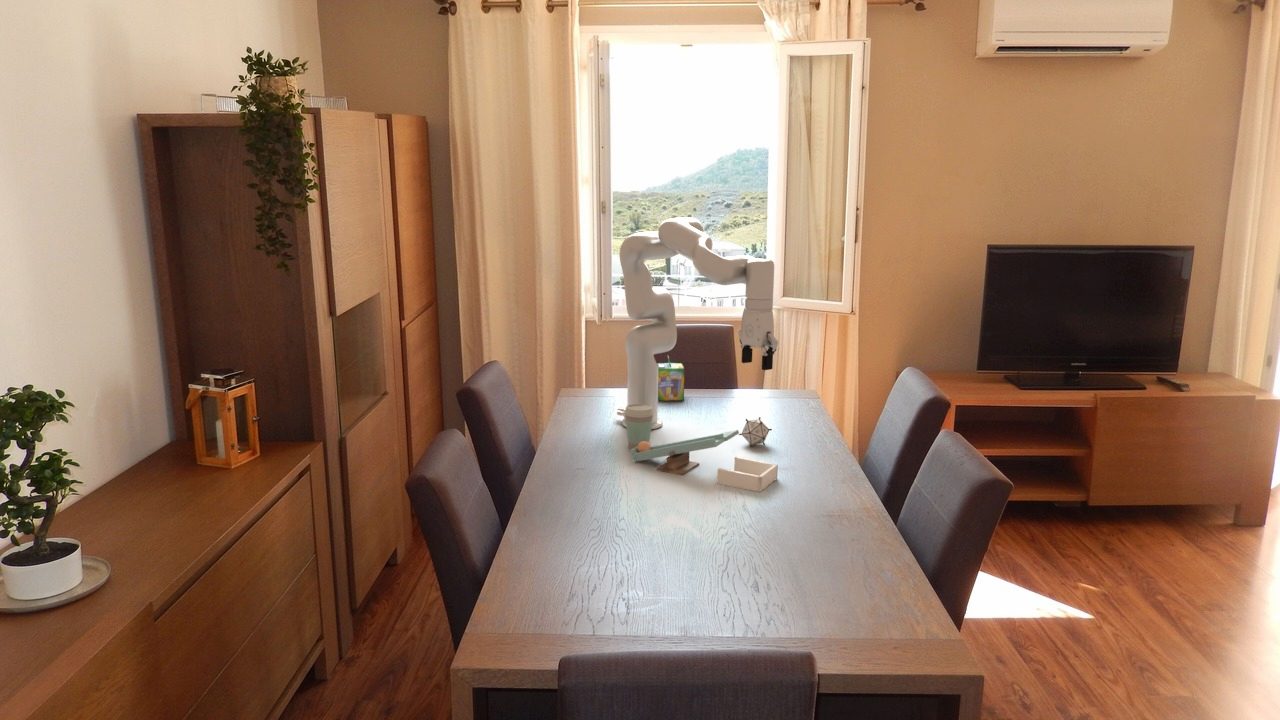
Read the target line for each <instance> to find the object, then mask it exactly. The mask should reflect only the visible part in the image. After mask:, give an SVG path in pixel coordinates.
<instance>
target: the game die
mask: <svg viewBox="0 0 1280 720" xmlns="http://www.w3.org/2000/svg"><path fill="white" fill-rule="evenodd" d="M772 430H773V429H772V428H768V426H766V424H765V423H764V422H763V421H762V420H761V416H759V417H758V419H752V420H751V419H750V420H748V419H747V418H745V425H744V427H743V429H742V431H741V433H740V432H739V434H738V436H742V437H743V439H745V440H746V441H747V442H748V443H749V448H752V447H753V445H761V444H762V445H764V446H766V443H765V441H766V438H767V436H768V434H769V432H770V431H772Z"/></svg>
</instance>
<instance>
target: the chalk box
mask: <svg viewBox="0 0 1280 720" xmlns="http://www.w3.org/2000/svg"><path fill="white" fill-rule="evenodd" d="M666 356H667V360H668V362H664V363H663V362H659V363H657V362H656V363H657V366H658V402H662V401H665V402H666V401H684V400H685V367H684V365H683V363H681V362H680V363H677V362H671V361H670V356H669V355H668V354H667V355H666Z"/></svg>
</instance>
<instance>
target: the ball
mask: <svg viewBox="0 0 1280 720" xmlns="http://www.w3.org/2000/svg"><path fill="white" fill-rule="evenodd" d="M651 447H652V446H651V444H650V442H649V443H648V442H646V441H642V442H640V443H639V444H638V451H639V452H643V451H648V450H650V449H651Z"/></svg>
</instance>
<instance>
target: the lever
mask: <svg viewBox="0 0 1280 720" xmlns="http://www.w3.org/2000/svg"><path fill="white" fill-rule="evenodd" d="M739 434H740V432H739V430H738V429H736V430H729V431H724V432H721V433H718V434H714V435H712V434H711V435H708V436H702V437H701V436H700V437H696V438H692V439H686V440H680V441H675V442H670V443H665V444H660V445H659V444H658V445H655V446H650V447H651V449H650V450H648V451H643V452H639V451H638V446H637V447H635V448H633V449H631V448H630V454H631V456H632V460H633V462H641V461H646V460H650V459H651V460H652V459H657V458H661V457H667V456H668V457H669V456H673V455H675V454H680V453H685V452H689V453H690V452H695V451H701V450H702V451H703V450H708V449H712V448H716V447H718V446H719V445H721V444H723V443H724V442H727V441H729V440H731V439H733V438H734V437H736V436H737V435H739Z"/></svg>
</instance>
